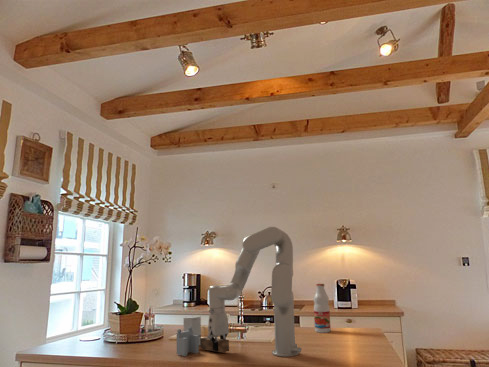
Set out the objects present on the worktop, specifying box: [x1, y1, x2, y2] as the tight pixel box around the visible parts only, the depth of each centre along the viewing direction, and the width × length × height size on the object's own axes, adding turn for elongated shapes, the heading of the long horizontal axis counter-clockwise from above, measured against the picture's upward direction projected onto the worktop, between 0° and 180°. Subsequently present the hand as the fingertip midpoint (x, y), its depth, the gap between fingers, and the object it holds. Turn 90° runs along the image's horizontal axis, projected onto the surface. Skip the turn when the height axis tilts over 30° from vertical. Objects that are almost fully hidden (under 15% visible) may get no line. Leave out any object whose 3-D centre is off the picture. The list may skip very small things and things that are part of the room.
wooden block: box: [199, 336, 230, 353], centre depth 201 cm, size 16×4×5 cm, turn 48°
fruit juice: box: [313, 283, 331, 334], centre depth 247 cm, size 9×9×28 cm
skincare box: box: [183, 315, 202, 346], centre depth 216 cm, size 8×6×15 cm
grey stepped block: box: [176, 327, 200, 357], centre depth 199 cm, size 6×9×12 cm
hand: (219, 349), depth 199 cm, fingers closed on wooden block, 4 cm apart
